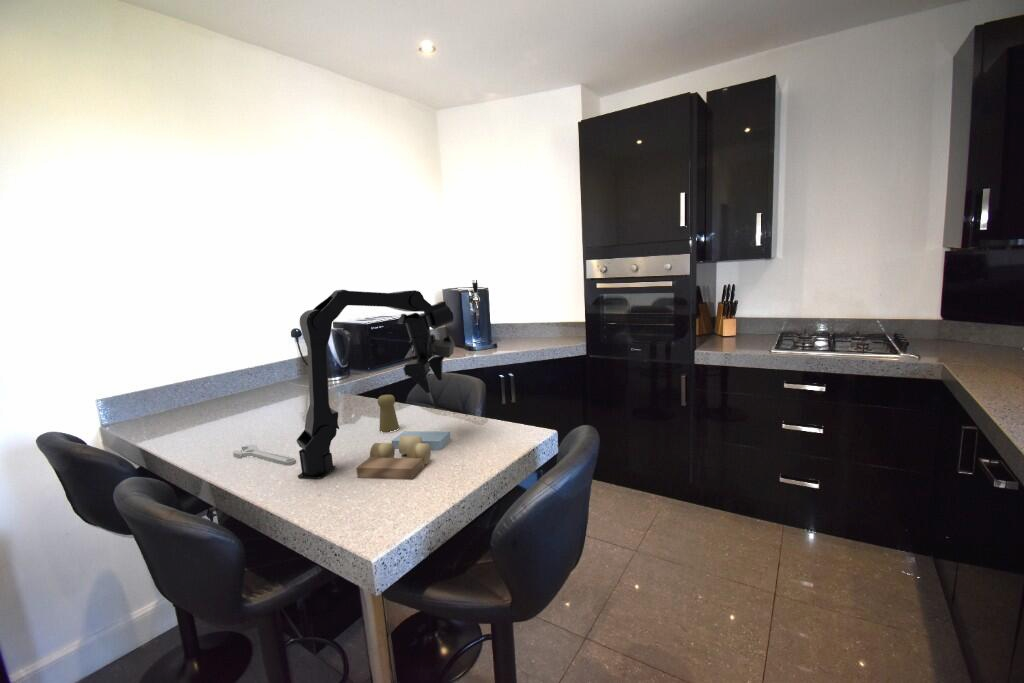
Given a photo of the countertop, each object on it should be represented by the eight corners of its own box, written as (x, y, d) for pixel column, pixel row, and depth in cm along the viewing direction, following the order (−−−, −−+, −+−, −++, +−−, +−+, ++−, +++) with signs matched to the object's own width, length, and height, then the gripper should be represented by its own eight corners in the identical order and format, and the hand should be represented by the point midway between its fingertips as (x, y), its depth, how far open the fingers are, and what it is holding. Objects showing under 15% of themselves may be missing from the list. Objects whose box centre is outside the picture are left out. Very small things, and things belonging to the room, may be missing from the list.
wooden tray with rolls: (357, 477, 107) (355, 457, 107) (380, 458, 118) (378, 440, 118) (412, 479, 104) (410, 458, 104) (431, 459, 115) (429, 440, 115)
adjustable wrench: (299, 464, 120) (298, 457, 120) (275, 473, 115) (274, 467, 115) (252, 448, 134) (251, 443, 134) (228, 456, 129) (227, 450, 129)
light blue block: (383, 456, 119) (381, 439, 119) (405, 439, 132) (403, 423, 132) (433, 457, 116) (431, 439, 116) (450, 439, 129) (449, 423, 129)
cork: (384, 434, 138) (380, 399, 136) (376, 430, 143) (372, 396, 141) (402, 429, 142) (399, 394, 140) (394, 425, 146) (390, 391, 145)
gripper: (434, 340, 116) (449, 396, 120) (457, 321, 133) (470, 370, 137) (395, 346, 119) (411, 401, 123) (422, 327, 136) (436, 375, 140)
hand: (434, 386), depth 130 cm, fingers open, 9 cm apart
